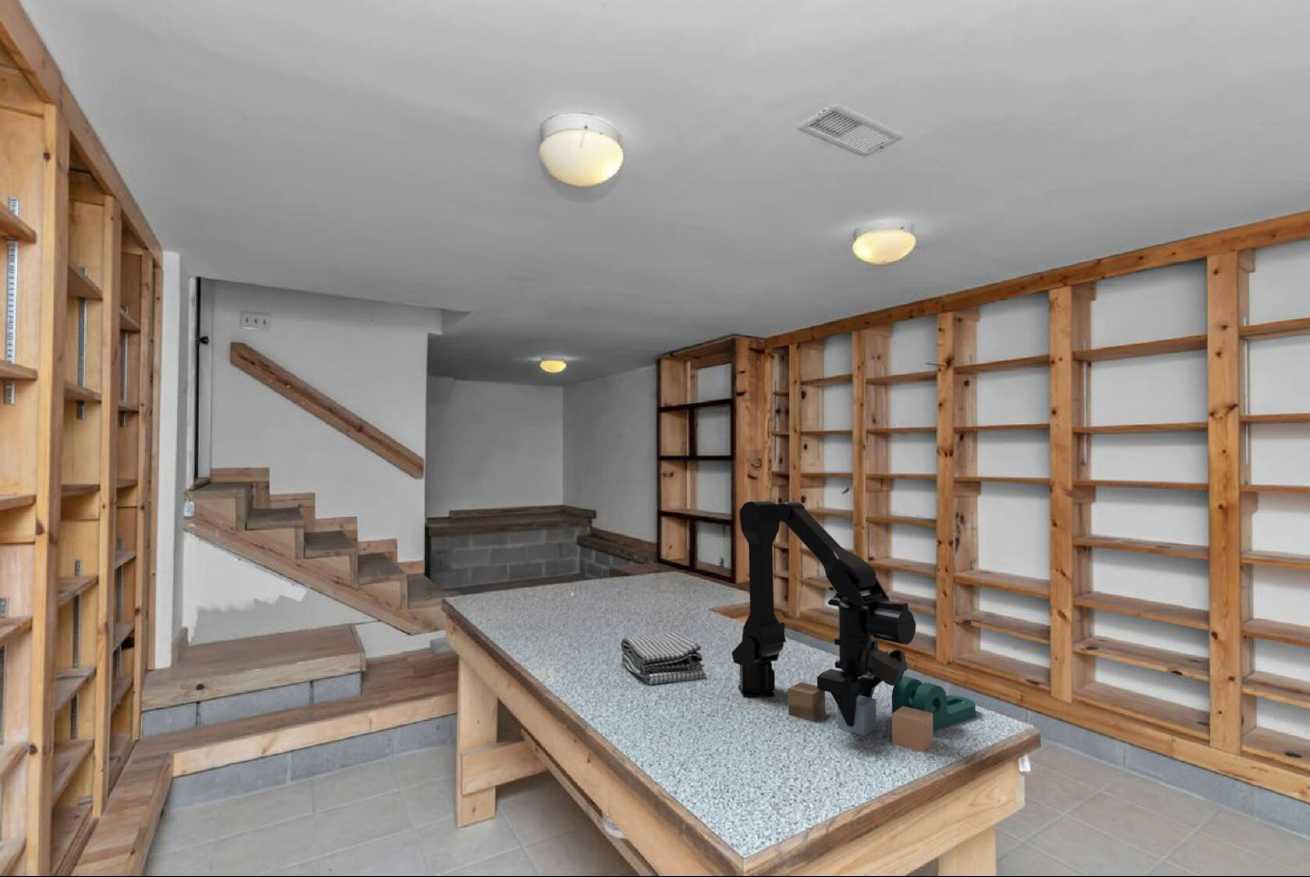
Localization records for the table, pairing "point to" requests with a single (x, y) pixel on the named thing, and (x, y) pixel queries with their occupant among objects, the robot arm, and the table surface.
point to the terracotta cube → (912, 728)
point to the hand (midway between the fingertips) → (856, 721)
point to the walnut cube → (806, 701)
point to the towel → (663, 658)
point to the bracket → (932, 702)
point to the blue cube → (860, 717)
